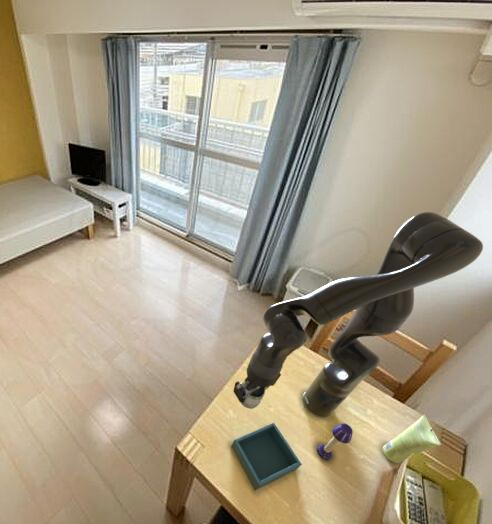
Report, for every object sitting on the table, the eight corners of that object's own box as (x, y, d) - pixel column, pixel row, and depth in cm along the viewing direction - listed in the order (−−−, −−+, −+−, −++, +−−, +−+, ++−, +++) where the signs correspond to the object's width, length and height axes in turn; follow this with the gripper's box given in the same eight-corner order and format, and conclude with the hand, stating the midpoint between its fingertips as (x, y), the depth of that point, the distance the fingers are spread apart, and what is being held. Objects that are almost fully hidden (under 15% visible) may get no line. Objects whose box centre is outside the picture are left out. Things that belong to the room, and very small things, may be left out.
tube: (406, 458, 90) (449, 433, 78) (399, 469, 88) (441, 445, 75) (386, 441, 94) (424, 414, 81) (378, 451, 92) (416, 425, 79)
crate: (269, 429, 96) (273, 422, 93) (295, 470, 88) (302, 464, 84) (230, 446, 93) (234, 440, 89) (254, 491, 84) (259, 485, 80)
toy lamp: (311, 446, 93) (333, 424, 82) (322, 440, 94) (345, 417, 83) (324, 462, 89) (349, 441, 79) (335, 455, 91) (361, 434, 80)
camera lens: (251, 414, 87) (258, 402, 82) (233, 398, 91) (239, 385, 86) (263, 400, 90) (270, 387, 85) (245, 385, 94) (251, 372, 89)
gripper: (250, 387, 74) (237, 416, 84) (296, 369, 77) (278, 399, 88) (233, 362, 79) (222, 392, 90) (277, 346, 83) (261, 377, 94)
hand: (250, 395), depth 89 cm, fingers closed on camera lens, 6 cm apart
